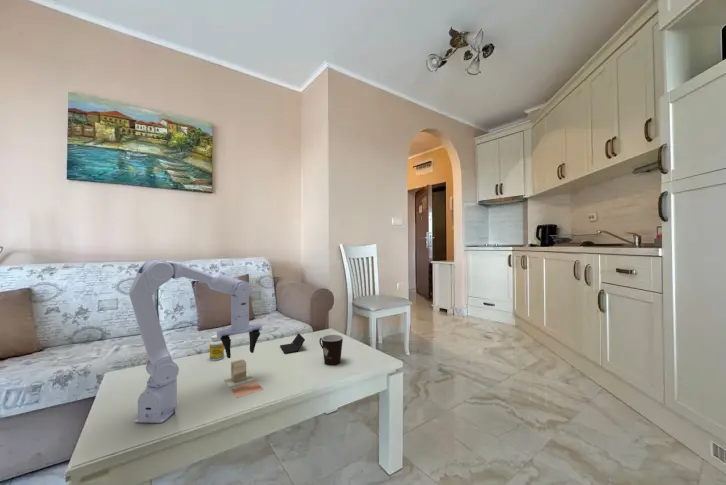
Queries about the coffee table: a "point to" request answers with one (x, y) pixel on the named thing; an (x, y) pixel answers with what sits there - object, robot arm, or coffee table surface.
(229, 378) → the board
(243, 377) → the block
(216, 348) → the supplement bottle
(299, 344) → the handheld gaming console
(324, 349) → the coffee mug
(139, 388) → the coffee table surface
